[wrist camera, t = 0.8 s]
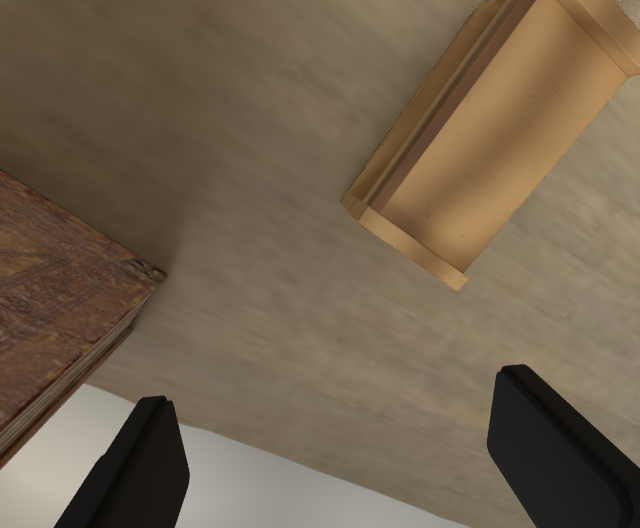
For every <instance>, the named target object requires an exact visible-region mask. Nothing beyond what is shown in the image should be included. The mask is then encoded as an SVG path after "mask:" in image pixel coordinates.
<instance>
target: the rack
mask: <svg viewBox="0 0 640 528" xmlns="http://www.w3.org/2000/svg"><path fill="white" fill-rule="evenodd" d="M639 74H640V30H639V29H638V28H637V27H636V26H635V24H634V23H633V22H632V21H631V20H630V19H629V18H628V16H627V15H626V14H625V13H624V12H623V11H622V10H621V8H620V7H619V6H618V5H617V4H616V3H615V2H614V0H487V1H486V2H485V3H483V4H482V5H481V6H480V7H478V8H477V9H476V10H475V11H473V12H472V14H471V15H470V17H469V18H468V20H467V21H466V22H465V24H464V25H463V27H462V28H461V30H460V31H459V32H458V34H457V35H456V37H455V38H454V40H453V41H452V43H451V44H450V45H449V47H448V48H447V50H446V51H445V53H444V54H443V55H442V57H441V58H440V60H439V61H438V63H437V64H436V65H435V67H434V68H433V70H432V71H431V73H430V74H429V75H428V77H427V78H426V80H425V81H424V83H423V84H422V86H421V87H420V88H419V90H418V91H417V93H416V94H415V96H414V97H413V98H412V100H411V101H410V103H409V104H408V106H407V107H406V108H405V110H404V111H403V113H402V114H401V116H400V117H399V119H398V120H397V121H396V123H395V124H394V126H393V127H392V129H391V130H390V131H389V133H388V134H387V136H386V137H385V139H384V140H383V141H382V143H381V144H380V146H379V147H378V149H377V150H376V152H375V153H374V154H373V156H372V157H371V159H370V160H369V162H368V163H367V164H366V166H365V167H364V169H363V170H362V172H361V173H360V174H359V176H358V177H357V179H356V180H355V182H354V183H353V185H352V186H351V187H350V189H349V190H348V192H347V193H346V195H345V196H344V197H343V199H342V200H341V202H340V203H341V204H342V205H343V207H344V208H345V209H346V210H347V211H348V212H349V213H350V214H351V215H352V216H353V218H354V219H355V220H356V221H357V222H358V223H360V224H361V225H363V226H364V227H365V228H367V229H368V230H370V231H371V232H373V233H374V234H375V235H377V236H378V237H380V238H381V239H383V240H384V241H386V242H387V243H388V244H390V245H391V246H393V247H394V248H396V249H397V250H398V251H400V252H401V253H403V254H404V255H406V256H407V257H409V258H410V259H411V260H413V261H414V262H416V263H417V264H419V265H420V266H421V267H423V268H424V269H426V270H427V271H429V272H430V273H431V274H433V275H434V276H436V277H437V278H439V279H440V280H442V281H443V282H444V283H446V284H447V285H449V286H450V287H452V288H453V289H454V290H456V291H457V292H459V290H460V289H461V288H462V287H463V286H464V285H465V283H466V282H467V281H468V280H469V278H468V277H467V276H466V275H464V274H463V273H464V272H465V271H466V270H467V268H468V267H469V266H470V265H471V264H472V262H473V261H474V260H475V259H476V258H477V257H478V255H479V254H480V253H481V252H482V251H483V249H484V248H485V247H486V246H487V245H488V244H489V242H490V241H491V240H492V239H493V238H494V236H495V235H496V234H497V233H498V232H499V231H500V229H501V228H502V227H503V226H504V225H505V223H506V222H507V221H508V220H509V219H510V218H511V216H512V215H513V214H514V213H515V212H516V210H517V209H518V208H519V207H520V206H521V204H522V203H523V202H524V201H525V200H526V199H527V197H528V196H529V195H530V194H531V193H532V191H533V190H534V189H535V188H536V187H537V186H538V184H539V183H540V182H541V181H542V180H543V178H544V177H545V176H546V175H547V174H548V173H549V171H550V170H551V169H552V168H553V167H554V165H555V164H556V163H557V162H558V161H559V159H560V158H561V157H562V156H563V155H564V154H565V152H566V151H567V150H568V149H569V148H570V146H571V145H572V144H573V143H574V142H575V141H576V139H577V138H578V137H579V136H580V135H581V133H582V132H583V131H584V130H585V129H586V128H587V126H588V125H589V124H590V123H591V122H592V120H593V119H594V118H595V117H596V116H597V115H598V113H599V112H600V111H601V110H602V109H603V107H604V106H605V105H606V104H607V103H608V101H609V100H610V99H611V98H612V97H613V96H614V94H615V93H616V92H617V91H618V90H619V88H620V87H621V86H622V85H623V84H624V83H625V81H626V80H627V79H628V78H629V77H631V76H635V75H639Z"/></svg>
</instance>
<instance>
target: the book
mask: <svg viewBox="0 0 640 528" xmlns="http://www.w3.org/2000/svg"><path fill="white" fill-rule="evenodd" d="M167 277H168V276H167V274H166V273H165V272H163V271H161V270H160V269H158V268H157V267H155V266H153V265H152V264H150V263H149V262H147V261H145V260H144V259H142V258H141V257H139V256H137V255H136V254H134V253H133V252H131V251H130V250H128V249H126V248H125V247H123V246H122V245H120V244H118V243H117V242H115V241H114V240H112V239H110V238H109V237H107V236H106V235H104V234H102V233H101V232H99V231H98V230H96V229H94V228H93V227H91V226H90V225H88V224H86V223H85V222H83V221H82V220H80V219H79V218H77V217H75V216H74V215H72V214H71V213H69V212H67V211H66V210H64V209H63V208H61V207H59V206H58V205H56V204H55V203H53V202H51V201H50V200H48V199H47V198H45V197H43V196H42V195H40V194H39V193H37V192H35V191H34V190H32V189H31V188H29V187H28V186H26V185H24V184H23V183H21V182H20V181H18V180H16V179H15V178H13V177H12V176H10V175H8V174H7V173H5V172H4V171H2V170H0V470H1V469H2V468H3V467H4V466H5V465H6V464H7V463H8V461H10V459H11V458H12V457H13V456H14V455H15V454H16V453H17V452H18V451H19V450H20V449H21V448H22V447H23V446H24V445H25V444H26V443H27V442H28V441H29V440H30V439H31V438H32V437H33V436H34V434H35V433H36V432H37V431H38V430H39V429H40V428H41V427H42V426H43V425H44V424H45V423H46V422H47V421H48V420H49V419H50V418H51V417H52V416H53V415H54V414H55V413H56V412H57V410H58V409H59V408H60V407H61V406H62V405H63V404H64V403H65V402H66V401H67V400H68V399H69V398H70V397H71V396H72V395H73V394H74V393H75V392H76V390H77V389H79V387H80V386H81V385H82V384H83V383H84V382H85V381H86V380H87V379H88V378H89V377H90V376H91V375H92V374H93V373H94V372H95V371H96V370H97V369H98V368H99V367H100V366H101V365H102V364H103V362H104V361H105V360H106V359H107V358H108V357H109V356H110V355H111V354H112V353H113V352H114V351H115V350H116V349H117V348H118V347H119V346H120V345H121V344H122V343H123V342H124V341H125V340H126V338H127V337H128V336H129V335H130V334H131V333H132V331H131V329H129V328H127V327H128V326H129V324H130V323H131V322H132V320H133V319H134V317H135V316H136V314H137V313H138V311H139V310H140V309H141V307H142V306H143V304H144V303H145V301H146V300H147V298H148V297H149V296H150V294H151V293H152V292H153V291H154V290H155V289H156V288H158V287H159V286H160V285H161V284H162V283H163V282H164V281H165V280H166V279H167Z"/></svg>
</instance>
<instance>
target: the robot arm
mask: <svg viewBox="0 0 640 528" xmlns="http://www.w3.org/2000/svg"><path fill="white" fill-rule="evenodd" d="M487 448H488V451H489V454H490V456H491V457H492V459H493V461H494V462H495V464H496V465H497V467H498V468H499V470H500V471H501V473H502V475H503V476H504V478H505V479H506V481H507V482H508V484H509V485H510V487H511V489H512V490H513V492H514V493H515V495H516V496H517V498H518V499H519V501H520V503H521V504H522V506H523V507H524V509H525V510H526V512H527V513H528V515H529V517H530V518H531V520H532V521H533V523H534V524H535V526H536V527H537V528H640V468H639V467H638V466H637V465H636V464H634V463H633V462H632V461H631V460H630V459H629V458H628V457H627V456H626V455H625V454H623V453H622V452H621V451H620V450H619V449H618V448H617V447H616V446H615V445H614V444H613V443H611V442H610V441H609V440H608V439H607V438H606V437H605V436H604V435H603V434H602V433H601V432H599V431H598V430H597V429H596V428H595V427H594V426H593V425H592V424H591V423H590V422H589V421H587V420H586V419H585V418H584V417H583V416H582V415H581V414H580V413H579V412H578V411H576V410H575V409H574V408H573V407H572V406H571V405H570V404H569V403H568V402H567V401H566V400H564V399H563V398H562V397H561V396H560V395H559V394H558V393H557V392H556V391H555V390H554V389H552V388H551V387H550V386H549V385H548V384H547V383H546V382H545V381H544V380H543V379H542V378H540V377H539V376H538V375H537V374H536V373H535V372H534V371H533V370H532V369H531V368H529V367H528V366H527V365H524V364H520V365H508V366H503V367H502V369H501V371H500V372H498V373H497V375H496V380H495V387H494V394H493V402H492V409H491V416H490V423H489V430H488V437H487ZM189 478H190V473H189V468H188V463H187V459H186V455H185V451H184V446H183V442H182V438H181V434H180V430H179V425H178V421H177V417H176V413H175V409H174V405H173V402H172V401H167V399H166V397H165V396H153V397H143V398H141V399H140V400H139V401H138V403H137V405H136V406H135V408H134V409H133V411H132V412H131V414H130V415H129V417H128V419H127V420H126V422H125V423H124V425H123V426H122V428H121V429H120V431H119V433H118V434H117V436H116V437H115V439H114V440H113V442H112V444H111V445H110V447H109V448H108V450H107V452H106V453H105V454H104V455H103V456H101V457H100V458H99V460H98V461H97V462H96V463H95V465H94V467H93V468H92V470H91V471H90V473H89V474H88V476H87V477H86V479H85V480H84V482H83V483H82V485H81V487H80V488H79V490H78V491H77V493H76V494H75V496H74V497H73V499H72V500H71V502H70V503H69V505H68V506H67V508H66V509H65V511H64V513H63V514H62V515H61V517H60V519H59V520H58V522H57V523H56V525H55V526H54V528H175V525H176V522H177V519H178V516H179V513H180V509H181V507H182V504H183V501H184V498H185V495H186V492H187V488H188V485H189Z"/></svg>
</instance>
